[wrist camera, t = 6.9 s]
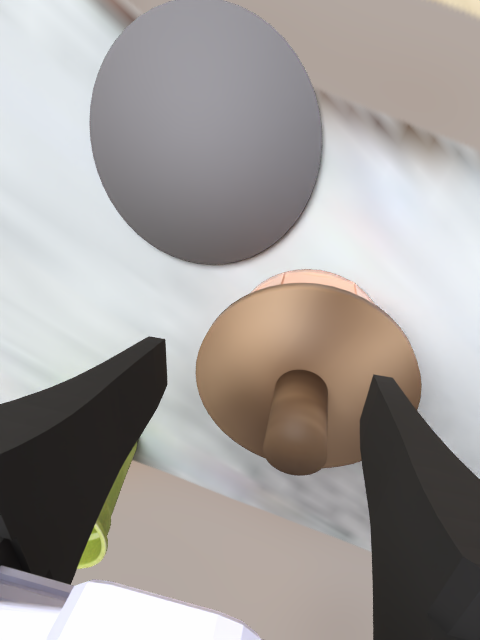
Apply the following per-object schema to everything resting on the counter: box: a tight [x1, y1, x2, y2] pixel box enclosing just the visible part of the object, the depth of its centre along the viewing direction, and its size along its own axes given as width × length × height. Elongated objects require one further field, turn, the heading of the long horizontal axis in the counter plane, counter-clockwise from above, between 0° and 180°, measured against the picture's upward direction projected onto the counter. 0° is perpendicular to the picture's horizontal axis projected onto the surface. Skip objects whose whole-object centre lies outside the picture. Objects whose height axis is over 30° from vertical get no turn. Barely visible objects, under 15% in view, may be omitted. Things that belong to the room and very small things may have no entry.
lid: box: [196, 283, 421, 475], centre depth 17 cm, size 11×11×5 cm
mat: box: [90, 0, 322, 264], centre depth 19 cm, size 12×12×1 cm
